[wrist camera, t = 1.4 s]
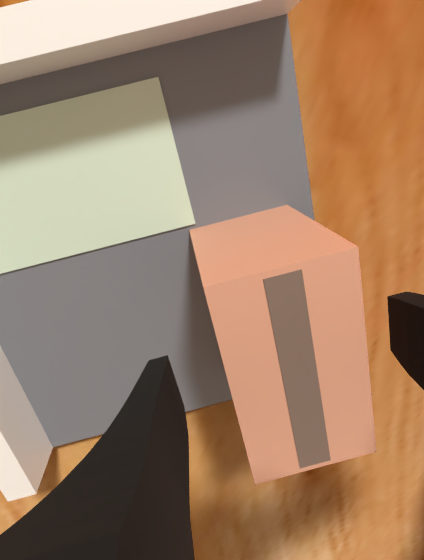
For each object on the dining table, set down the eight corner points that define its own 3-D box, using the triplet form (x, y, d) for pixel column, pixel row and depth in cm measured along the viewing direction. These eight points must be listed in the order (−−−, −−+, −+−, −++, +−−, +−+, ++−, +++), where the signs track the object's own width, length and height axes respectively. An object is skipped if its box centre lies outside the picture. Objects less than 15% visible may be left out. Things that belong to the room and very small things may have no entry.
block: (310, 351, 18) (376, 452, 12) (226, 373, 18) (255, 485, 12) (287, 204, 15) (358, 247, 10) (189, 229, 15) (203, 287, 9)
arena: (329, 365, 19) (358, 406, 16) (32, 444, 19) (7, 501, 16) (276, -23, 13) (308, -67, 10) (-164, 84, 13) (-262, 70, 10)
